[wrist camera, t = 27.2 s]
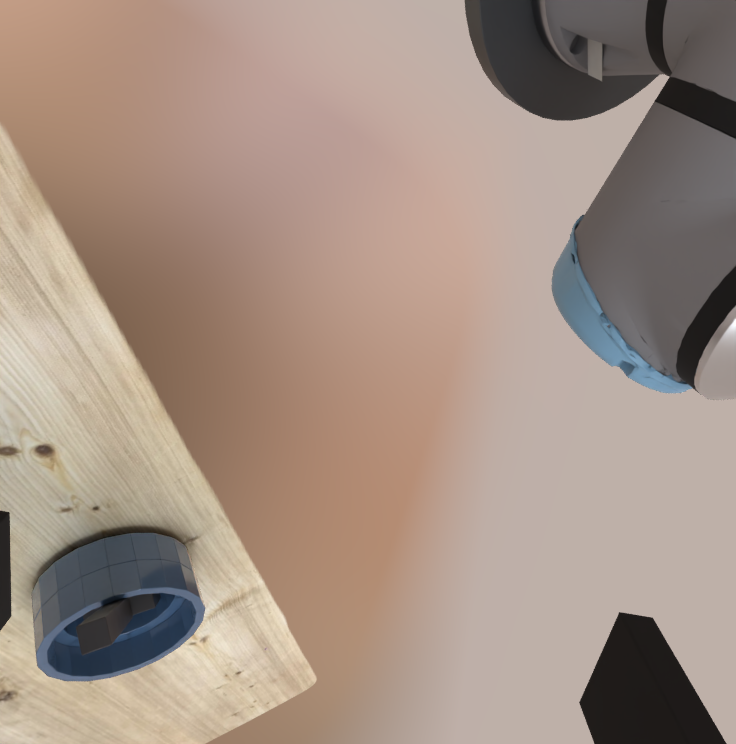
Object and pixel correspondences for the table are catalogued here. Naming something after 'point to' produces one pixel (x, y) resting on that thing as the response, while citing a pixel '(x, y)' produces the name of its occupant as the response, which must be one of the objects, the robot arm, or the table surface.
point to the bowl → (110, 583)
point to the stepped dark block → (111, 621)
